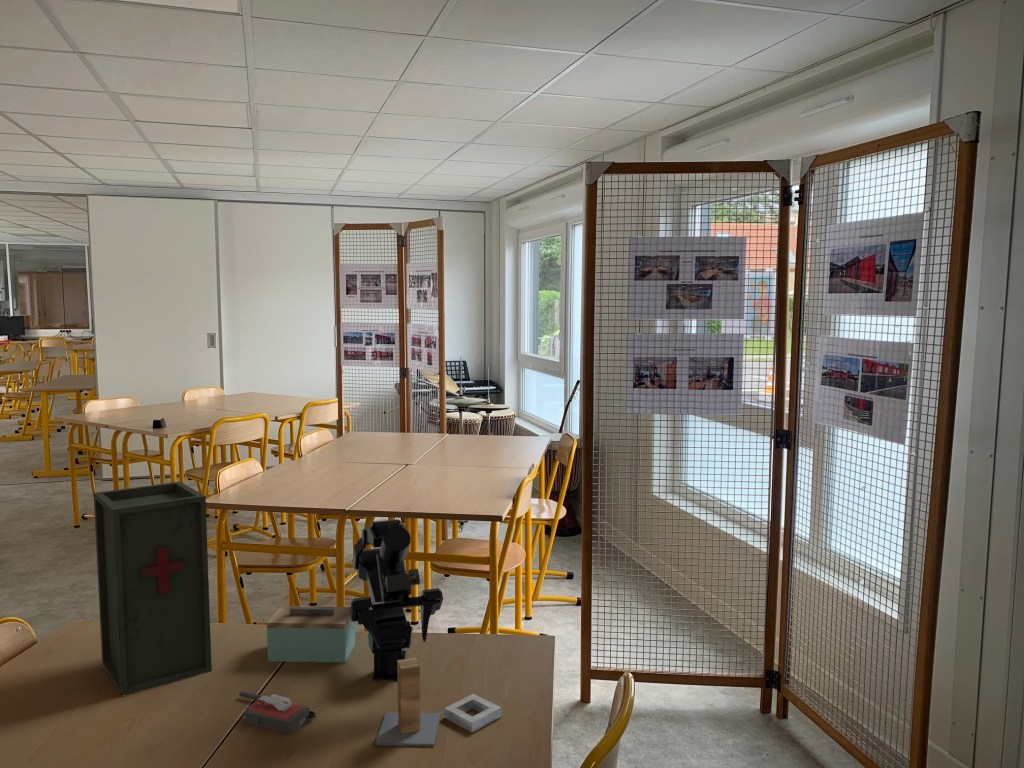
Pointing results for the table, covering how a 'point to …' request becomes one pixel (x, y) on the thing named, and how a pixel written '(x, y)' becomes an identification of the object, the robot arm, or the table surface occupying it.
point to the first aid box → (153, 584)
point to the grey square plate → (393, 736)
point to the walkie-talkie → (276, 713)
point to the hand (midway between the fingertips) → (402, 644)
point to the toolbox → (310, 634)
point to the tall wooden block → (408, 695)
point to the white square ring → (486, 716)
